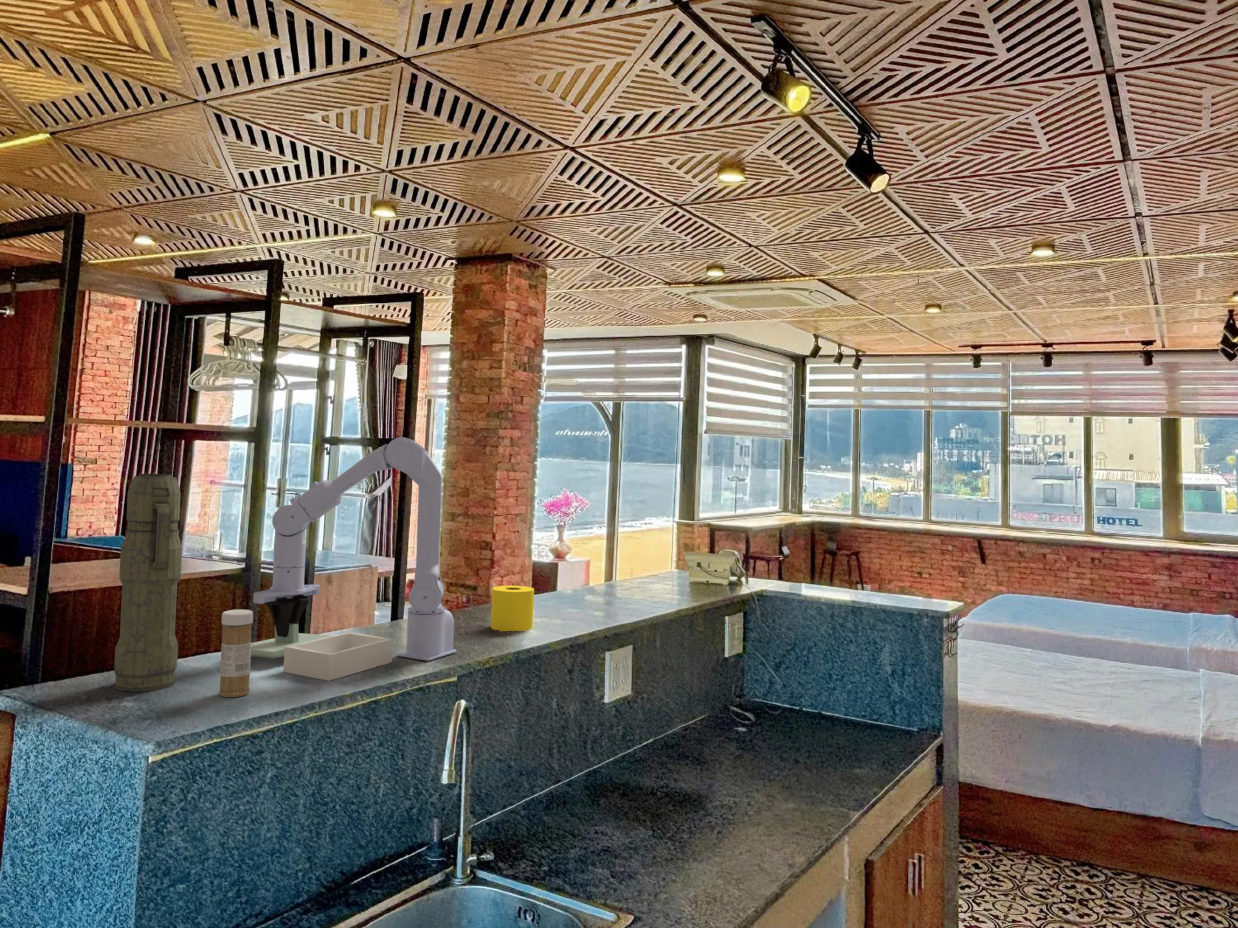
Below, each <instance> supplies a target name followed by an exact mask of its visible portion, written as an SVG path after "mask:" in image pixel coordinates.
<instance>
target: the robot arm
mask: <svg viewBox="0 0 1238 928" xmlns="http://www.w3.org/2000/svg"><path fill="white" fill-rule="evenodd" d="M393 468H394V469H396V470H398V471H401V472H402V473H404V474H406V475H407V476H408V477H409V478H410V479H411V480H412V481H413V482H414V483H415V484H416V485H417V486H418V494H417V495H418V497H417V522H416V523H417V525H416V526H417V527H416V530H417V531H416V535H417V536H416V561H415V563H416V564H415V571H414V581H413V585H412V587H411V589H410V591H409V593H408V600H409V604H410V607H408V608H407V625H406V626H407V627H406V628H407V629H406V648H405V649H406V650H404V651H401V652H397V653H396V656H397V657H402V658H409V659H413V660H421V661H426V662H429V661H433V660H435V659H438V658H442V657H446V656H448V655H451V654H454V653H457V649H454V636H455V635H454V633H455V619H454V616H453V614H452V613H451V611H449V610H448V609H446V608H445V606H443V604H442V599H443V596H444V593H445V586H444V583H443V581H442V579H441V565H440V563H441V562H440V557H441V554H440V553H441V532H442V531H441V529H442V528H441V527H442V525H441V524H442V498H443V497H442V495H443V491H442V490H443V476H442V475H443V474H442V473H441V471H440V470H439V469H438V466H436V464H435V462H434V461H433V459H432V457H431V456H430V455H429V453H428V451H427V450H426V448H424V447H423V446H422V445H421V444H420V443H418V442H417V441H415V440H413V439H410V438H407V437H396V438H393V439H392V440H391V441H390V442H389V443H388V444H384V445H382V446H380V447H378V448H376V449H374V450H373V451H371V452H370V453H368V454H367V455H366V456H364V457H363V458H362V459H359V461H357V462H356V463H355V464H353V465H352V466H351V467H349V468H348V469H347V470H345V471H344V472H342V473H341V474H340V475H339V476H337V477H336V478H335V479H333V480H332V481H331V480H326V479H325V480H324V479H323V480H320V481H319V482H318V481H314V482H311V484H309V486H310V488H309V489H307V491H305V492H303V493H302V494H300V495H299V496H298V497H295V496H294V497H292V498H291V499H289V501H290V504H285V505H281V506H279V508H278V509H277V510H276V511H275V512H274V514H273V515H272V521H271V522H272V526H273V529H274V530H275V536H274V537H275V538H274V547H273V565H272V566H273V569H272V570H273V571H272V573H273V574H272V586H270V588H268V589H265V590H260V591H256V592H253V604H258V605H259V604H260V605H261V604H265V605H266V607H267V608H268V610H269V613H270V614H271V617H272V619H273V623H274V628H275V627H276V631H277V636H280V637H287V636H288V632H289V623H291V624H298V625H299V623H300V620H301V618H302V615H303V613H304V611H305V609H306V607H308V604H309V603H310V601H309V600H310V598H308V597H307V596H312V595H314V596H317V595H321V594H320V592H321V585H320V584H314V583H313V584H305V573H306V572H305V570H306V550H307V549H306V546H307V545H306V534H307V531H306V530H307V529H308V528H309V526H310V524H311V523H315V522H316V521H318V520H319V519H320V518H322V517H323V516H325V515H326V514H327V513H328V512H330V511H332V510H333V509H334V508H335V507H337V506H339V505H340V504H341V503H342V496H343V495H344V493H346V492H347V491H348V490H351V489H352V488H353V487H355V486H356V485H358V484H359V483H361V482H362V481H364V480H365V479H368V477H370V476H371V475H373V474H374V473H376V472H379V471H380V472H381V471H385V470H386V471H388V470H391V469H393Z"/></svg>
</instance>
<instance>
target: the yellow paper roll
mask: <svg viewBox="0 0 1238 928" xmlns="http://www.w3.org/2000/svg"><path fill="white" fill-rule="evenodd" d="M491 591H492V592H491V594H492V595H491V611H490V612H491V613H490V614H491V615H490V617H491V618H490V629H491V628H492V629H491V630H493V629H495V630H494V631H496V630H499V631H498V632H503V631H523V632H525V631H524V630H529V629H531V628H532V627H533V626H534V625H533V624H534V602H535V600H534V599H535V598H534V597H535V588H534V587H531V586H523V585H497V586H494V587H492V588H491ZM532 629H533V628H532ZM532 629H531V630H532ZM529 631H530V630H529Z"/></svg>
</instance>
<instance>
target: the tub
mask: <svg viewBox="0 0 1238 928" xmlns="http://www.w3.org/2000/svg"><path fill="white" fill-rule="evenodd" d="M393 640H394V639H393V638H390V637H389V638H388V637H383V636H382V637H381V636H377V635H370V634H363V633H357V632H352V631H351V632H350V631H347V632H343V633H340V634H335V635H330V637H325V638H321V639H317V640H312V641H308V642H304V643H299V644H295V645H290V646H286V647H285V649H284V656H283V673H288V674H293V675H296V676H297V675H298V676H303V677H307V678H312V679H318V680H323V681H327V682H328V681H329V682H330V681H334V680H337V679H339V678H340V679H341V678H343V677H347V676H350V675H353V674H356V673H360V672H363V671H366V670H370V669H374V668H376V667H377V666H378V667H381V666H384V665H388V664H390V663H391V664H392V660H393V643H394V642H393ZM380 665H381V666H380Z"/></svg>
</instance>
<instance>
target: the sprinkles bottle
mask: <svg viewBox="0 0 1238 928" xmlns="http://www.w3.org/2000/svg"><path fill="white" fill-rule="evenodd" d="M253 622H254V612H253V611H252V610H250V609H231V610H230V609H229V610H226V611H223V612H222V614H221V626H222V635H221V645H220V647H221V651H220V668H219V669H220V670H219V672H220V673H219V675H220V681H219V691H218V694H219V696H221V697H224V698H240V697H243V696H245V695H248V694H249V693H250V676H251V675H250V673H251V658H252V656H251V643H252V627H253Z"/></svg>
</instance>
